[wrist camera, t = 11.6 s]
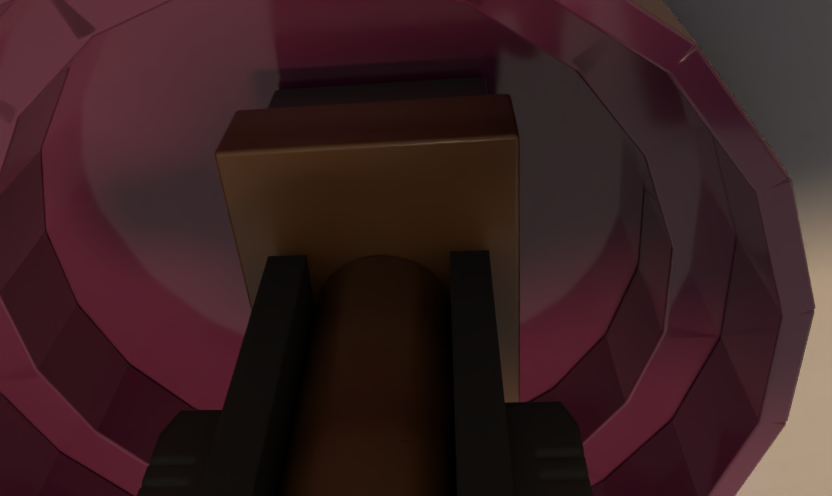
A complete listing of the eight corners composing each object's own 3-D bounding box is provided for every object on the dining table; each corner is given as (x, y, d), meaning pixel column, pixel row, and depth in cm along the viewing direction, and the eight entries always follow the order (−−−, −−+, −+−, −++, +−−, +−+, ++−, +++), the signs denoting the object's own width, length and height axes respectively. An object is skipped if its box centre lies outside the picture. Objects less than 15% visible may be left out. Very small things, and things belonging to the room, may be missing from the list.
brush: (253, 72, 18) (-217, 971, 5) (503, 56, 17) (704, 969, 5) (304, 334, 22) (123, 1188, 9) (506, 324, 21) (616, 1194, 9)
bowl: (355, -430, 13) (310, -511, 8) (845, 265, 21) (970, 433, 16) (-167, 204, 21) (-355, 359, 16) (342, 542, 29) (323, 716, 24)
